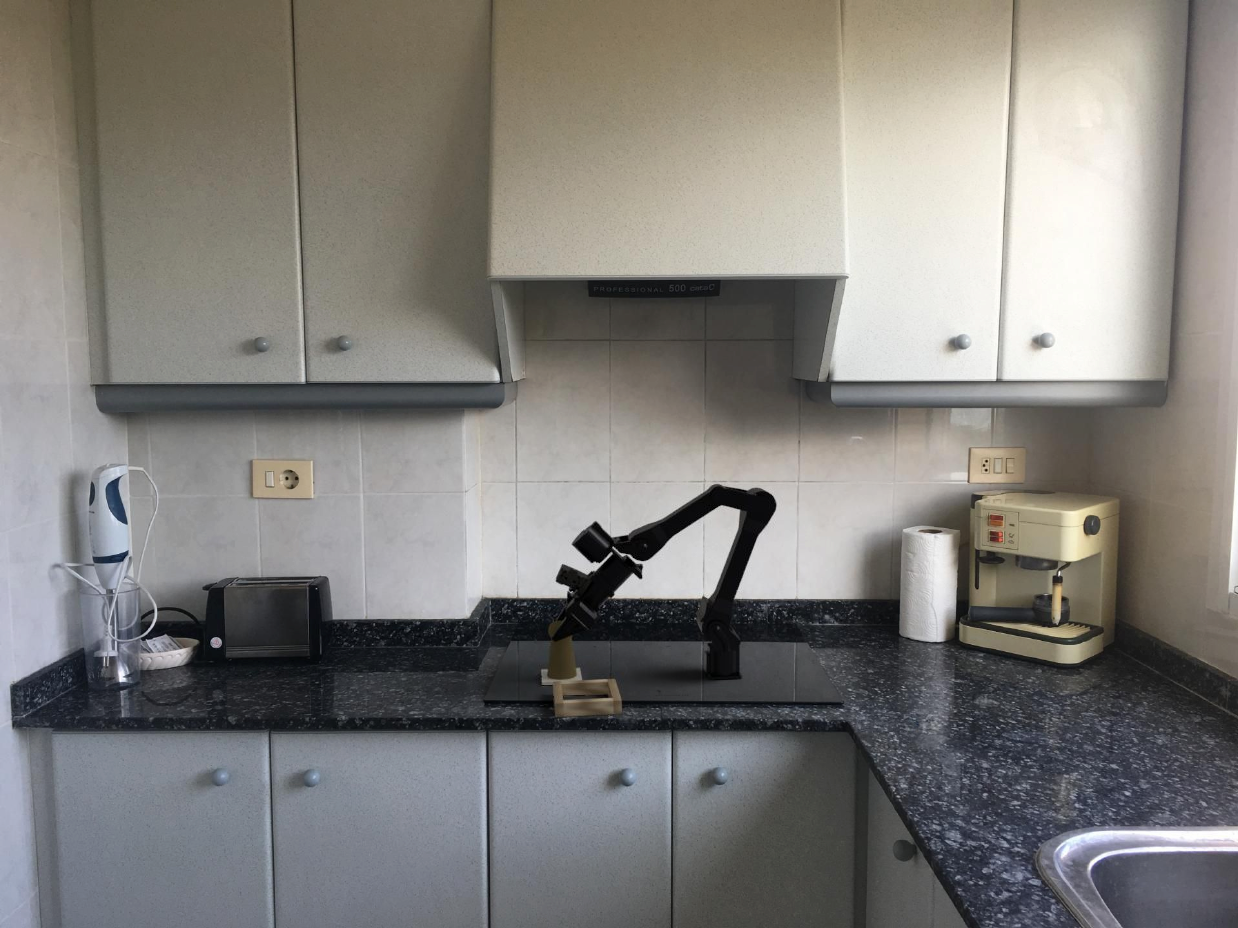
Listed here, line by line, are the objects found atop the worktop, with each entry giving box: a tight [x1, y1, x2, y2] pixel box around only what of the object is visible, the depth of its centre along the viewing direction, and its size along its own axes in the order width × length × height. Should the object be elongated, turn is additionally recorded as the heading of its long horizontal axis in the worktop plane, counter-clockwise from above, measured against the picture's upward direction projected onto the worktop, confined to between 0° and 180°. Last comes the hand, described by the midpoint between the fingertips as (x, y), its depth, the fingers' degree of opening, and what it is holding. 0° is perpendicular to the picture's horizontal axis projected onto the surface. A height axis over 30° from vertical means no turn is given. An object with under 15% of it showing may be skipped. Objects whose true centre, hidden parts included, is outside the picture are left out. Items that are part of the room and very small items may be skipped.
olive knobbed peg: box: [547, 620, 577, 680], centre depth 182 cm, size 6×6×11 cm
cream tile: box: [540, 667, 583, 686], centre depth 183 cm, size 8×8×1 cm
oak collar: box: [552, 678, 623, 718], centre depth 168 cm, size 12×12×2 cm
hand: (553, 633), depth 182 cm, fingers open, 9 cm apart
